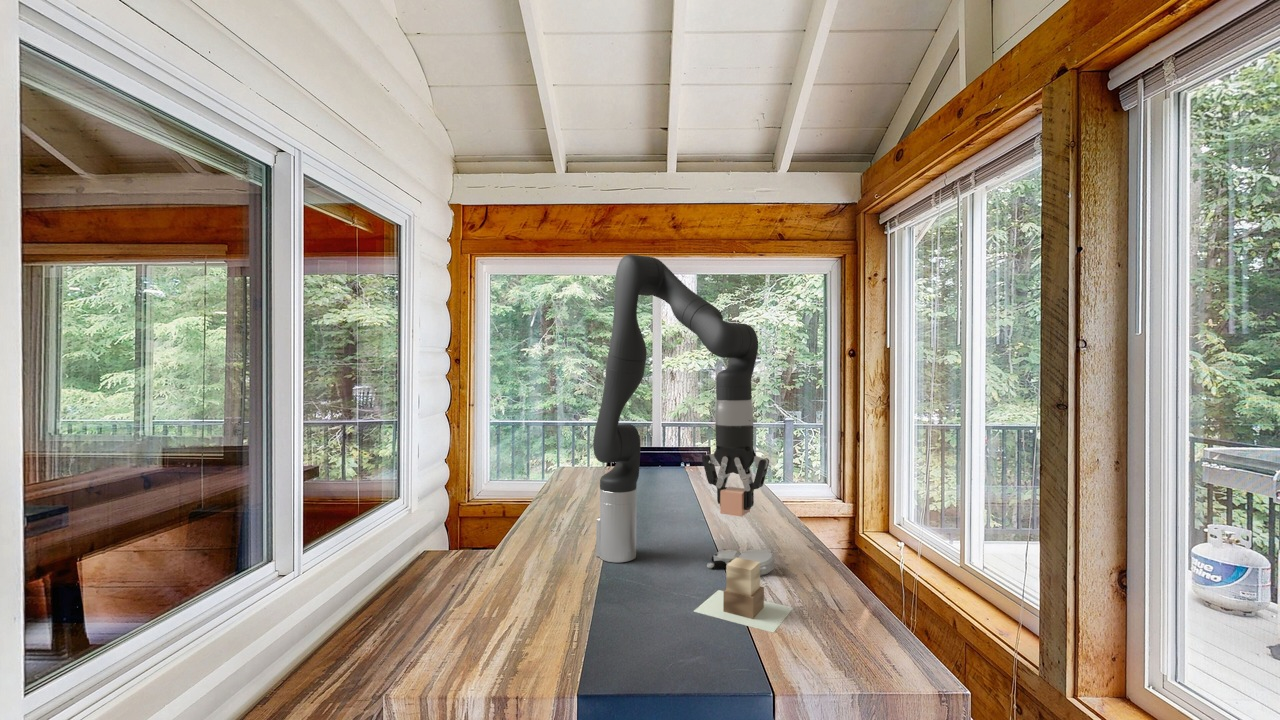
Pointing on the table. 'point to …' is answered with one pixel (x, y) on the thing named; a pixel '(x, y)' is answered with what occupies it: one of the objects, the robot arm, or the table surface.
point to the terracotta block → (732, 501)
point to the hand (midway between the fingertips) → (735, 507)
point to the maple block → (743, 576)
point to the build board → (763, 620)
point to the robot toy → (760, 556)
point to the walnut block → (744, 603)
